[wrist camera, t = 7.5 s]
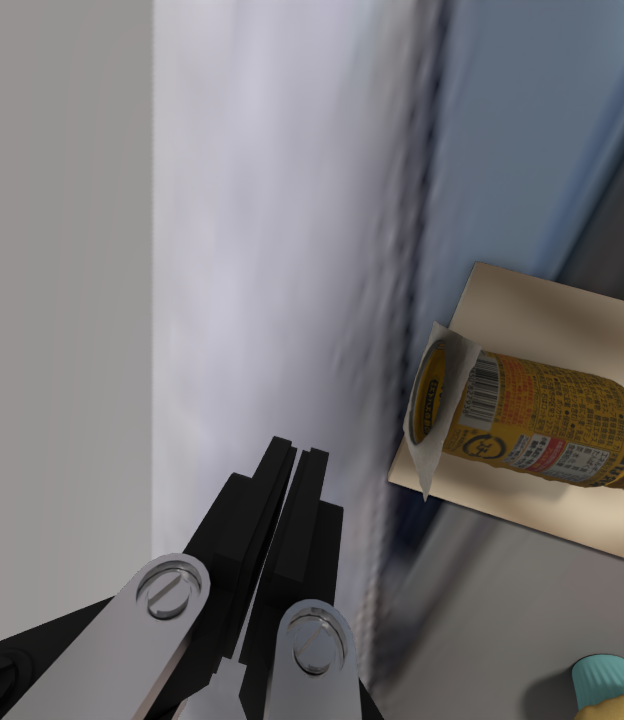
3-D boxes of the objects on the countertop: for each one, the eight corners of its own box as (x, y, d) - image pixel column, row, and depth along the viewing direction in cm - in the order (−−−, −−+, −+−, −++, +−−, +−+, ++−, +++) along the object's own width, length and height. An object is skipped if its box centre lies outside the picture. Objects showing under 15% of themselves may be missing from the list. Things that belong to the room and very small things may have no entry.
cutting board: (475, 261, 20) (479, 261, 19) (853, 364, 18) (874, 368, 18) (387, 474, 25) (388, 481, 24) (674, 566, 24) (683, 577, 23)
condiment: (400, 423, 23) (582, 466, 22) (421, 501, 15) (712, 577, 14) (430, 319, 21) (630, 361, 20) (473, 344, 13) (815, 418, 12)
